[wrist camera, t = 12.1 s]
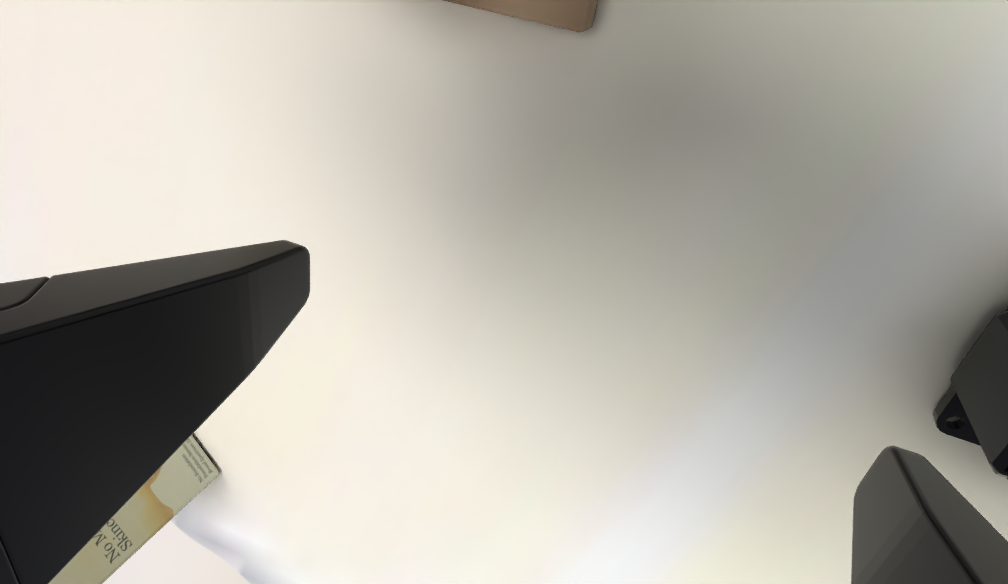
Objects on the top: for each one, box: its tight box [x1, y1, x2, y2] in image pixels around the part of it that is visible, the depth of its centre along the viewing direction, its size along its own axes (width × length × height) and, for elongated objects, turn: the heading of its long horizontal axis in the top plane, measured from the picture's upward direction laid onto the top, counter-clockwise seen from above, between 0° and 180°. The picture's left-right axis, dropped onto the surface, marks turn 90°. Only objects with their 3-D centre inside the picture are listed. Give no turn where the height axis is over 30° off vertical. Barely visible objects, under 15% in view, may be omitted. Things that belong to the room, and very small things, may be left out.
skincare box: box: [49, 435, 219, 584], centre depth 31 cm, size 6×4×12 cm
